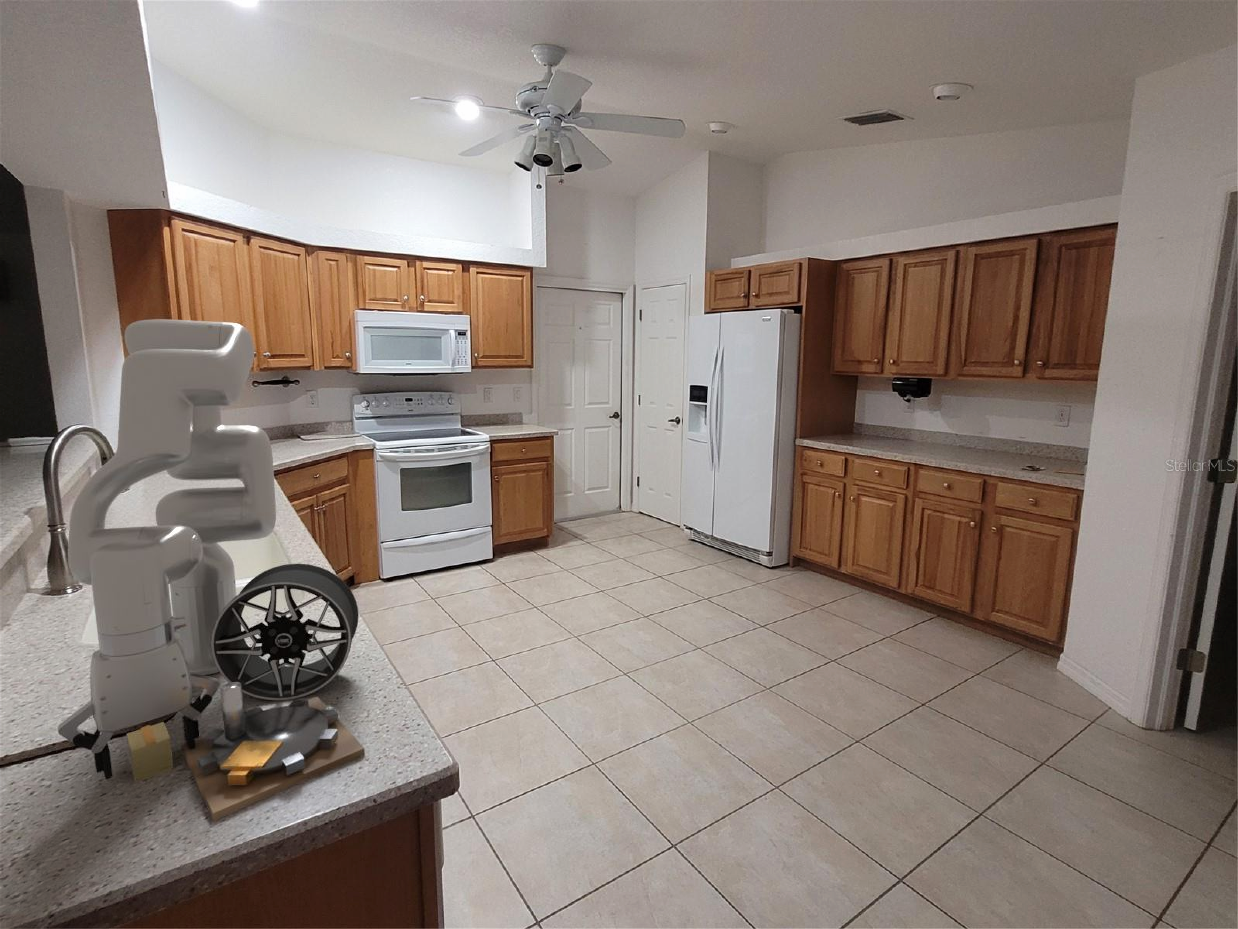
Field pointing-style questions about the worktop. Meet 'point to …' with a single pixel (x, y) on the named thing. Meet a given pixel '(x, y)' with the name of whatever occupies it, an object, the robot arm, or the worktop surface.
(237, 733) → the sprocket
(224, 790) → the sprocket base
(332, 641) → the wheel rim
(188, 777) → the worktop surface
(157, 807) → the worktop surface
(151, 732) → the tan block with orange
